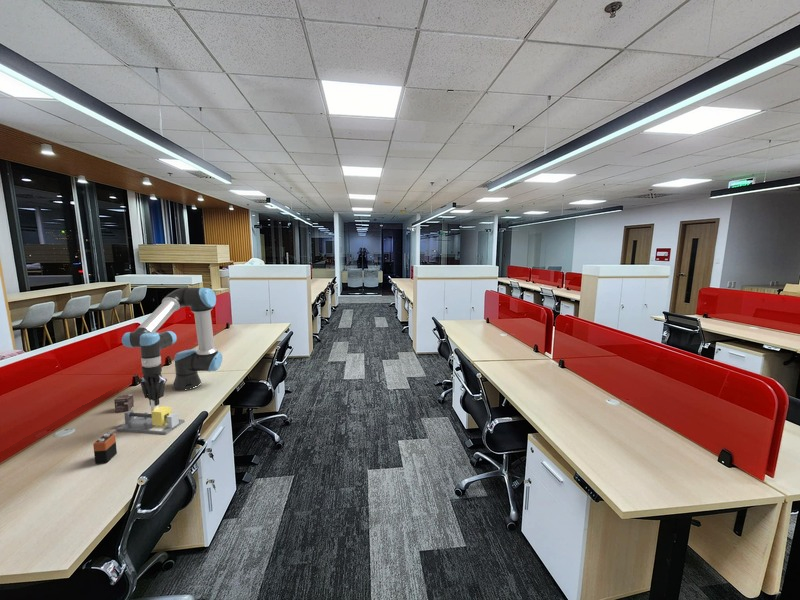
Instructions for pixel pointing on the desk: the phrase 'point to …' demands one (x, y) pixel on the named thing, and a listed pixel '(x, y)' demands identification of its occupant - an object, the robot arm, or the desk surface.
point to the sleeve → (160, 415)
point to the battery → (105, 448)
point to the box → (124, 403)
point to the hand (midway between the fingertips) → (155, 411)
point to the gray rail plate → (148, 423)
